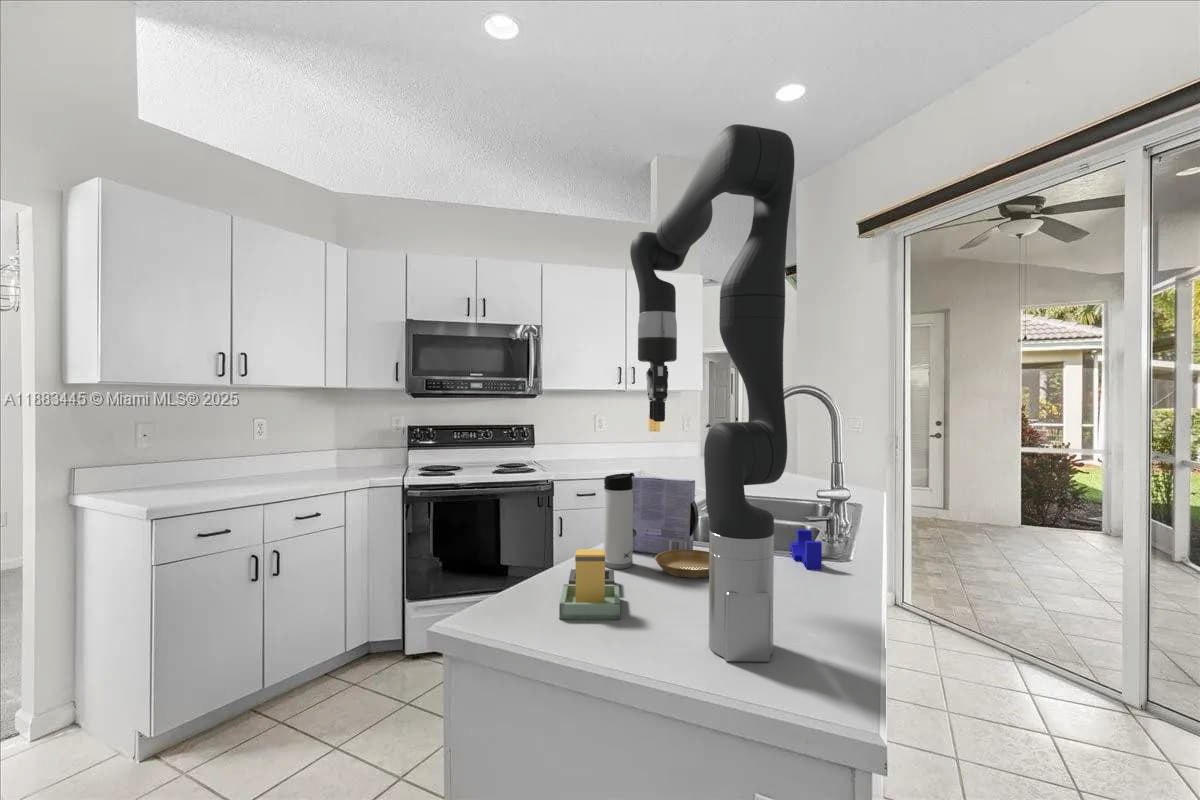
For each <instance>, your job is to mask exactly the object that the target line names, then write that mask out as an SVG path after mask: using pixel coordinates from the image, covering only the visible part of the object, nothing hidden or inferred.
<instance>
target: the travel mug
mask: <svg viewBox="0 0 1200 800" xmlns="http://www.w3.org/2000/svg"><path fill="white" fill-rule="evenodd" d="M634 475H635V473H634V472H629V473H616V474H615V473H614V474H610V475H607V476H605V477H604V479H603V483H604V485H603V487H604V488H603V550H605V568H608V569H611V570H625V569H628V568H631V567H632V566H633V562H634V561H633V553H634V551H633V492H632V491H633V486H632V484H633V482H632V476H633V477H634Z"/></svg>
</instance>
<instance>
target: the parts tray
mask: <svg viewBox="0 0 1200 800" xmlns="http://www.w3.org/2000/svg"><path fill="white" fill-rule="evenodd" d="M620 598H621V597H620V586H619V584H614V585H605V603H576V584H569V583H567V584H565V583H564V584H563V586H562V591H561V597H560V600H559V604H558V605H559V608H558V609H559V614H558V615H559V617H558V619H559V620H602V621H603V620H605V621H606V620H610V621H611V620H613V621H615V620H616V621H617V620H618V621H619V620H621V617H620V616H621V600H620Z"/></svg>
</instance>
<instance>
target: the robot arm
mask: <svg viewBox="0 0 1200 800" xmlns="http://www.w3.org/2000/svg"><path fill="white" fill-rule="evenodd" d="M794 149H795V147H794V144H793V141H792V138H791V137H790V136H789V134H787V133H786V132H783V131H780V130H777V129H772V128H766V127H760V126H755V125H748V124H739V123H738V124H736V123H735V124H732V125H729V126H727V127H725V128H724V129H723V130H722V131H721V132H720V133H718V135H717V137H715V139H714V140H713V142H712V143H711V145H710V146H709V148H708V150H707V151H706V154H705V155H704V156H703V159H702V161H701V163H699V166H698V168H697V169H696V171H695V173H694V175H693V176H692V179H690V182H689V184H688V186H687V187H686V189H685V191H684V192H683V195H681V197H680V199H679V200H678V201H677V203H675V205H674V206H673V207H672V208H671V210H669V212H668V213H666V214H665V216H664V217H663V218H662V219H661V220H660V222H659V224H658V225H657V228H656V232H655V231H653V232H652V231H641V232H638V233H637V234H636V235H635V236H634V237H633V239H632V241H631V243H630V251H629V252H630V254H629V255H630V262H631V265H632V268H633V270H634V271H633V272H634V274H635V278H636V283H637V289H638V292H639V293H638V295H639V298H638V299H639V300H638V301H639V302H638V303H639V305H638V306H639V310H638V311H639V316H638V324H637V361H639V362H643V363H649V365H650V367H648V369H647V371H646V374H645V376H646V378H645V379H646V391H647V397H648V398H647V399H648V400H649V419H650V420H652V421H653V422H655V423H657V422H659V423H661V422H665V420H666V401H667V399H668V395H669V394H668V389H669V382H668V381H669V380H668V379H669V371H668V370H669V368H668V366H667V365H665V363H670V362H671V363H672V362H676V361H677V359H678V357H677V356H678V351H677V350H678V348H677V347H678V345H677V343H678V342H677V341H678V340H677V339H678V332H677V331H678V329H677V328H678V324H677V315H676V312H677V311H676V310H677V308H676V306H677V305H676V304H677V303H676V302H677V299H676V297H677V295H676V286H675V285H674V284H673V283H671V282H668V281H665V280H663V279H660V278H659V277H658V276H657V274H656V271H661V272H672V271H675V270H678V269H680V268H681V267H682V266H683V264H684V262H685V260H686V257H687V254H688V253H689V251H690V249H691V247H692V246H693V245H694V244H695V243H696V242H698V240H700V239H701V238H702V237H703V235H705V234H706V232H707V231H708V230H709V228H710V225H711V223H712V220H713V212H714V211H713V202H712V201H713V200H714V199H715V198H717V197H718V196H719V195H721V194H724V193H728V194H730V195H735V196H736V195H737V196H746V197H753V216H752V223H751V228H750V232H749V234H748V236H747V239H746V241H745V243H744V245H743V246H742V248H741V249H740V252H739V253H738V255H737V256H736V258H735V259H734V261H733V262H732V264H731V265H730V267H729V269H728V270H727V272H726V275H725V276H724V278H723V280H722V284H721V286H720V291H719V319H718V320H719V321H718V322H719V333H720V334H719V335H720V336H721V337H720V338H721V340H722V343H723V344H724V347H725V349H726V352H727V353H728V355H729V357H730V358H731V360H732V363H733V364H734V366H735V367H736V369H737V371H738V373H739V375H740V377H741V379H742V381H743V383H744V387H745V390H746V396H747V404H748V421H740V422H739V421H737V422H736V421H735V422H734V421H733V422H732V421H730V422H719V423H716V424H714V425H713V426H712V427H711V428H710V429H709V430H708V432H707V434H706V438H705V441H704V450H703V460H704V461H703V463H704V480H705V481H704V483H705V503H706V504H705V507H706V511H707V515H708V520H709V521H708V522H709V530H708V532H709V533H708V535H709V545H708V546H709V548H708V550H709V551H708V552H709V577H708V648H709V649H710V650H711V651H712V652H713V653H714V654H716V655H717V656H720V657H723V659H724V660H725V661H726V662H765V663H766V662H771V656H772V655H773V653H774V575H775V574H774V570H775V569H774V562H775V561H774V559H775V558H774V557H775V556H774V555H775V520H774V519H775V518H774V516H773V514H772V513H771V512H770V511H768V510H766V509H763V508H761V507H758V506H754V505H752V504H751V503H749V502H748V501H747V499H746V495H745V493H746V492H745V486H755V485H768V484H774V483H776V482H777V481H778V480H780V479H781V477H782V476H783V473H784V472H785V469H786V465H787V458H788V433H787V419H786V418H787V417H786V406H785V391H784V389H785V388H784V339H785V338H784V337H785V336H784V335H785V334H784V333H785V322H786V319H785V317H786V260H787V241H788V239H787V238H788V225H789V217H790V209H791V202H792V201H791V200H792V193H793V186H794V183H793V182H794V176H795V150H794Z"/></svg>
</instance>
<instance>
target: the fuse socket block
mask: <svg viewBox="0 0 1200 800" xmlns="http://www.w3.org/2000/svg"><path fill="white" fill-rule="evenodd" d="M568 584H576V568H575V569H570V572H569V577H568ZM605 585H615V569H605Z"/></svg>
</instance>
